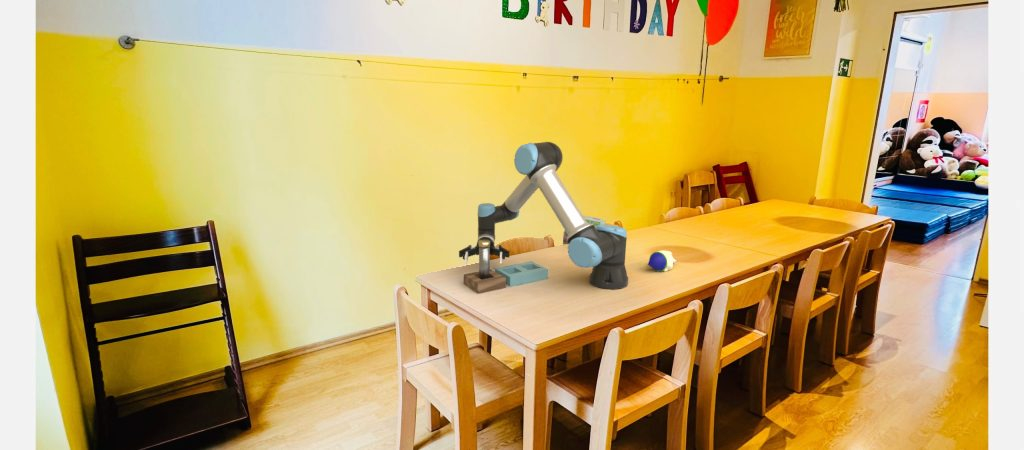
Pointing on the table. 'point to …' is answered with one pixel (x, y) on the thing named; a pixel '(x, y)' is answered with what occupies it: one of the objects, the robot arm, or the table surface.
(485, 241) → the grey metal cylinder
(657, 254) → the cartoon head
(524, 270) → the block
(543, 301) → the table surface
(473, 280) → the socket block
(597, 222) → the snack box
